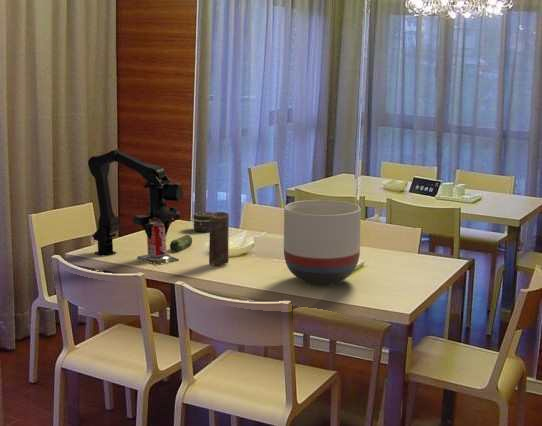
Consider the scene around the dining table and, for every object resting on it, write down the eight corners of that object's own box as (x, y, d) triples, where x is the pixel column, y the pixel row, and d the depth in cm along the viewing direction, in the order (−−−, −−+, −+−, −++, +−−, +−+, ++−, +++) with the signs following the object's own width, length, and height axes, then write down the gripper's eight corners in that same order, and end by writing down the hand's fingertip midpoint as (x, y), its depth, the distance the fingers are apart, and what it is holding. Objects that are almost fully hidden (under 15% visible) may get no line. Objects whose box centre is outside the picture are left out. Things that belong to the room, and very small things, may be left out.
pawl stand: (137, 257, 324) (137, 254, 323) (158, 253, 330) (158, 250, 330) (157, 265, 314) (157, 261, 313) (178, 260, 320) (178, 257, 320)
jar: (190, 232, 366) (190, 215, 364) (196, 227, 375) (196, 211, 374) (212, 233, 364) (212, 216, 362) (218, 228, 374) (217, 212, 372)
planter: (371, 289, 284) (373, 212, 279) (297, 296, 277) (297, 217, 271) (342, 268, 310) (344, 198, 304) (274, 274, 302) (274, 202, 296)
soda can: (163, 258, 318) (162, 225, 315) (145, 257, 319) (144, 224, 316) (168, 253, 325) (167, 221, 322) (151, 253, 326) (150, 220, 323)
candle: (232, 263, 316) (232, 212, 312) (223, 268, 309) (222, 216, 305) (214, 261, 319) (214, 210, 315) (205, 266, 313) (204, 214, 308)
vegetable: (179, 253, 331) (178, 241, 330) (167, 252, 333) (167, 240, 332) (195, 245, 344) (195, 234, 343) (184, 244, 346) (184, 232, 345)
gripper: (147, 206, 305) (148, 246, 308) (188, 199, 317) (189, 238, 320) (131, 201, 313) (132, 241, 316) (171, 195, 325) (172, 233, 328)
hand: (157, 238), depth 320 cm, fingers closed on soda can, 6 cm apart
